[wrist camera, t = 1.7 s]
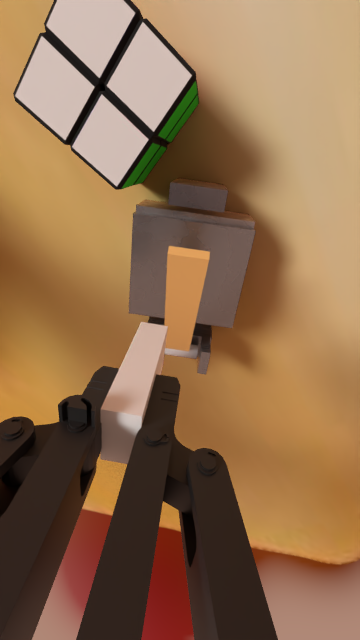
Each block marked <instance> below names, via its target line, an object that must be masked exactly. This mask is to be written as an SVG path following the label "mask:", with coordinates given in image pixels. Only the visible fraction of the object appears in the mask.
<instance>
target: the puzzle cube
mask: <svg viewBox="0 0 360 640" xmlns="http://www.w3.org/2000/svg"><path fill="white" fill-rule="evenodd" d="M44 25H45V30H46V32H45V33H40V34H39V36H38V39H37V41H36V43H35V46H34V48H33V50H32V52H31V55H30V57H29V59H28V61H27V64H26V66H25V68H24V71H23V73H22V75H21V77H20V80H19V82H18V84H17V86H16V89H15V91H14V93H13V94H14V98H15V101H16V102H17V103H18V104H19V105H21V106H22V107H23V108H24V109H25V110H26V111H27V112H28V113H30V114H31V115H32V116H33V117H34V118H35V119H36V120H38V121H39V122H40V123H41V124H42V125H43V126H44V127H46V128H47V129H48V130H49V131H50V132H51V133H52V134H53V135H55V136H56V137H57V138H58V139H59V140H60V141H61V142H63V143H64V144H65V145H70V146H71V151H73V152H74V153H75V154H76V155H77V156H78V157H79V158H80V159H82V160H83V161H84V162H85V163H86V164H87V165H88V166H90V167H91V168H92V169H93V170H94V171H95V172H96V173H98V174H99V175H100V176H101V177H102V178H103V179H104V180H105V181H107V182H108V183H109V184H110V185H111V186H112V187H113V188H115V189H116V190H117V189H123V188H126V187H129V186H132V185H136V184H140V183H143V181H144V180H145V179H146V177H147V176H148V174H149V173H150V172H151V170H152V169H153V167H154V166H155V165H156V163H157V162H158V160H159V159H160V158H161V156H162V155H163V153H164V152H165V151H166V149H167V143H171V142H172V140H173V139H174V138H175V136H176V135H177V133H178V132H179V131H180V129H181V128H182V126H183V125H184V124H185V122H186V121H187V119H188V118H189V117H190V115H191V114H192V112H193V111H194V110H195V108H196V107H197V105H198V104H199V97H198V88H197V80H196V72H195V71H194V70H193V69H192V68H191V67H190V66H189V65H188V63H187V62H186V61H185V60H184V59H183V58H182V57H181V56H180V55H179V54H178V52H177V51H176V50H175V49H174V48H173V47H172V46H171V45H170V44H169V43H168V41H167V40H166V39H165V38H164V37H163V36H162V35H161V34H160V33H159V32H158V30H157V29H156V28H155V27H154V26H153V25H152V24H151V23H150V22H149V21H148V19H143V17H142V15H141V12H140V10H139V9H138V8H137V7H136V6H135V4H134V3H133V2H132V1H131V0H54V2H53V5H52V7H51V9H50V11H49V14H48V16H47V18H46V21H45V23H44Z"/></svg>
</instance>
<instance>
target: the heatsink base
mask: <svg viewBox="0 0 360 640" xmlns="http://www.w3.org/2000/svg"><path fill="white" fill-rule="evenodd" d="M227 194H228V190H227V189H226V187H225V186H224V185H223V184H217V183H210V182H203V181H196V180H189V179H182V178H177V179H176V180H174V181H172V182H170V191H169V201H168V203H166V202H159V201H152V200H144V201H142V202H141V203H139V204H137V205H136V212H134V213H133V230H132V252H131V275H130V297H129V313H131V314H138V315H145V316H150V318H149V320H148V323H151V324H157V325H163V326H164V322H165V300H166V277H167V254H168V249H169V246H174V247H181V248H188V249H195V250H202V251H209V252H210V257H209V263H208V268H207V272H206V277H205V281H204V286H203V290H202V295H201V299H200V304H199V308H198V313H197V318H196V322H195V327H194V331H193V336H192V340H191V345H198V353H197V357H198V370H197V373H200V374H206V372H207V367H208V363H209V358H210V344H211V339H212V330H211V325H214V326H220V327H227V328H232V327H233V323H234V319H235V314H236V310H237V306H238V302H239V298H240V294H241V290H242V286H243V281H244V277H245V273H246V269H247V265H248V261H249V257H250V253H251V248H252V244H253V240H254V236H255V232H256V230H255V229H254V225H255V221H254V220H253V219H252V218H251V216H250V215H249V214H243V213H236V212H229V211H224V210H225V205H226V200H227Z"/></svg>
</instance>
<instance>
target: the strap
mask: <svg viewBox="0 0 360 640" xmlns="http://www.w3.org/2000/svg"><path fill="white" fill-rule="evenodd" d="M209 257H210V252H209V251H202V250H195V249H188V248H181V247H174V246H169V249H168V254H167V277H166V300H165V322H164V326H168V330H167V338H166V346H165V354H166V355H173V356H180V357H187V358H193V359H196V358H197V353H198V345H191V340H192V336H193V331H194V327H195V322H196V318H197V313H198V308H199V304H200V299H201V295H202V290H203V286H204V281H205V277H206V272H207V268H208V263H209Z"/></svg>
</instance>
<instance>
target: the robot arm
mask: <svg viewBox="0 0 360 640" xmlns="http://www.w3.org/2000/svg"><path fill="white" fill-rule="evenodd" d="M167 330H168V326H163V325H157V324H151V323H145V322H141V323H140V325H139V328H138V330H137V332H136V334H135V336H134V338H133V341H132V343H131V345H130V347H129V349H128V351H127V353H126V356H125V358H124V360H123V362H122V364H121V366H120V368H119V369H118V368H112V367H106V366H103V367H101V368H100V369H99V370H97V371H96V372H95V373H94V375H93V377H92V378H91V381H90V382H89V384H88V385H87V388H86V389H85V391H84V392H83V394H82V395H74V396H70V397H67V398H66V399H64V400H62V401H61V402H60V403H59V404H58V410H59V421H60V422H57V423H53V424H46V425H36V426H34V424H33V421H31V420H30V419H29V418H26V417H12V418H10V419H7V420H4V421H3V422H1V423H0V640H32V637H33V634H34V632H35V630H36V627H37V624H38V622H39V619H40V616H41V614H42V611H43V609H44V606H45V603H46V601H47V598H48V596H49V593H50V590H51V588H52V585H53V582H54V580H55V577H56V575H57V572H58V569H59V566H60V564H61V562H62V559H63V556H64V554H65V551H66V549H67V546H68V543H69V541H70V538H71V535H72V533H73V530H74V527H75V525H76V522H77V520H78V517H79V515H80V511H81V509H82V507H83V504H84V501H85V499H86V496H87V494H88V491H89V488H90V486H91V483H92V481H93V478H94V475H95V473H96V462H97V459H98V457H99V454H100V452H101V459H102V460H108V461H114V462H119V463H125V464H128V465H127V468H126V471H125V475H124V478H123V482H122V485H121V488H120V492H119V495H118V499H117V502H116V506H115V509H114V512H113V516H112V519H111V523H110V526H109V529H108V533H107V536H106V540H105V543H104V547H103V550H102V554H101V557H100V560H99V564H98V567H97V570H96V574H95V577H94V581H93V584H92V588H91V591H90V594H89V598H88V602H87V605H86V608H85V611H84V615H83V618H82V622H81V625H80V629H79V632H78V636H77V639H76V640H141V637H142V631H143V625H144V617H145V611H146V604H147V599H148V592H149V586H150V579H151V573H152V567H153V560H154V553H155V547H156V541H157V535H158V534H157V533H158V528H159V522H160V515H161V509H162V503H163V501H164V502H166V503H168V504H169V505H171V506H173V507H174V508H176V509H178V510H179V518H180V526H181V534H182V542H183V549H184V558H185V566H186V575H187V583H188V590H189V599H190V607H191V614H192V624H193V632H194V639H195V640H278V638H277V635H276V631H275V628H274V625H273V621H272V618H271V615H270V611H269V608H268V604H267V601H266V598H265V594H264V591H263V587H262V584H261V581H260V577H259V574H258V570H257V567H256V564H255V560H254V557H253V553H252V550H251V547H250V543H249V540H248V536H247V533H246V530H245V526H244V523H243V519H242V516H241V513H240V509H239V506H238V502H237V499H236V496H235V492H234V489H233V485H232V482H231V479H230V475H229V472H228V468H227V465H226V463H225V461H224V459H223V457H222V456H221V455H220V454H219V453H218V452H216V451H214V450H212V449H207V448H201V449H197V450H196V451H192V450H190V449H188V448H186V447H185V446H183V445H182V444H181V443H180V442H179V441H178V440H177V439H176V437H175V434H174V424H175V418H176V411H177V404H178V398H179V391H180V384H179V381H178V379H177V378H175V377H169V376H163V375H161V372H162V368H163V362H164V354H165V346H166V338H167Z"/></svg>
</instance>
